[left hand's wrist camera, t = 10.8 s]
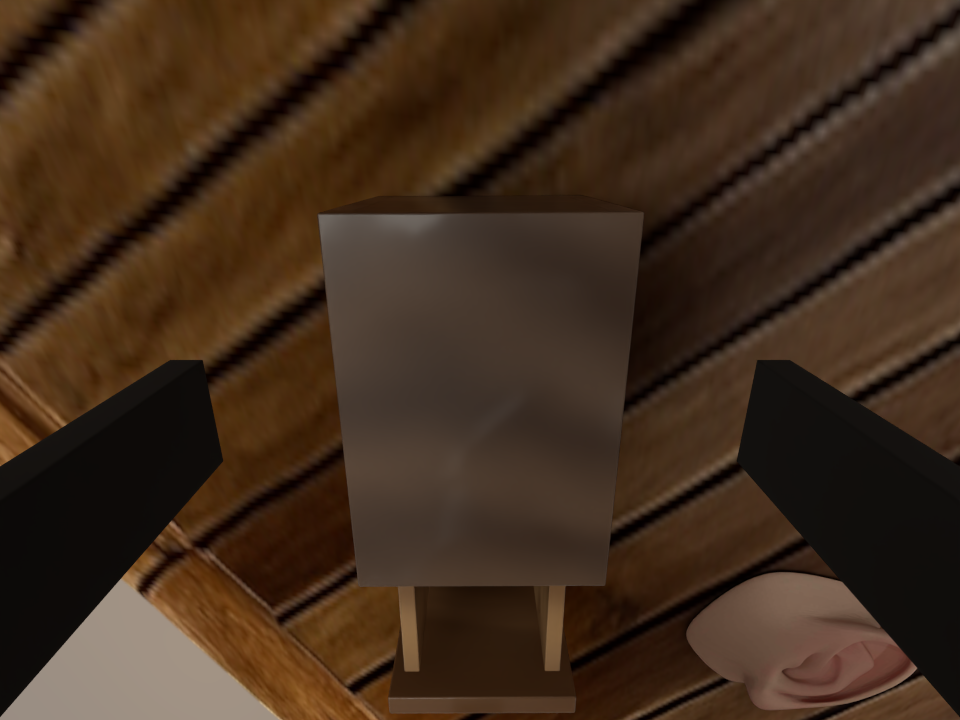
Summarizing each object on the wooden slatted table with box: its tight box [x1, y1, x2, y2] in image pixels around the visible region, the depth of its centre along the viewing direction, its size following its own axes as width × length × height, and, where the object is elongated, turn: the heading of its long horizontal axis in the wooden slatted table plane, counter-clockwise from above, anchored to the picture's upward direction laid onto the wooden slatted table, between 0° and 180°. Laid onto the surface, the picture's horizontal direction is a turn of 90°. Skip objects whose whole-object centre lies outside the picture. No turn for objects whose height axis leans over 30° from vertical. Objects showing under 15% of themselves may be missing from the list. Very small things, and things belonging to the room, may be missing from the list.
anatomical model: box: [686, 572, 917, 710], centre depth 36 cm, size 13×4×12 cm
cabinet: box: [317, 196, 644, 587], centre depth 25 cm, size 16×11×11 cm
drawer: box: [388, 586, 576, 713], centre depth 30 cm, size 20×10×9 cm, turn 0°
